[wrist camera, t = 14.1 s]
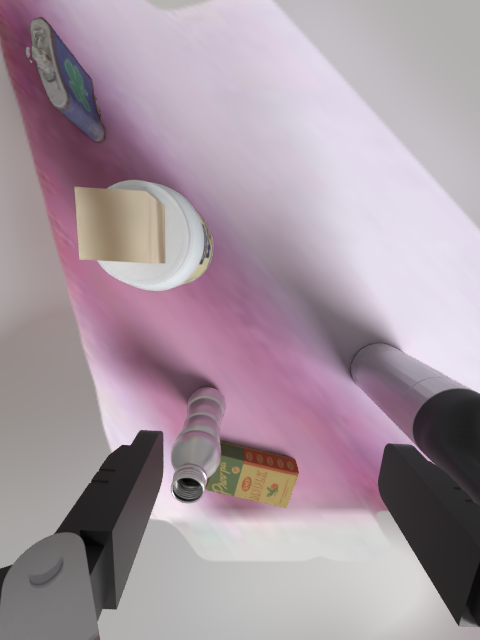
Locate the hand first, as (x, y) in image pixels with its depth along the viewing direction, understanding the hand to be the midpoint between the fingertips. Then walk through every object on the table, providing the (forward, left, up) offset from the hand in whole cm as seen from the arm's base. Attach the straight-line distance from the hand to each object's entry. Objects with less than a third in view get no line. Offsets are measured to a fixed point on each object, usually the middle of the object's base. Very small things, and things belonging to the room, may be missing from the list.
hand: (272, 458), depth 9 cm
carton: (-3, +32, -37) cm, 49 cm away
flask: (+25, -28, -36) cm, 52 cm away
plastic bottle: (+6, +18, -36) cm, 41 cm away
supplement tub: (+12, -9, -36) cm, 39 cm away
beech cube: (+12, -9, -19) cm, 24 cm away
